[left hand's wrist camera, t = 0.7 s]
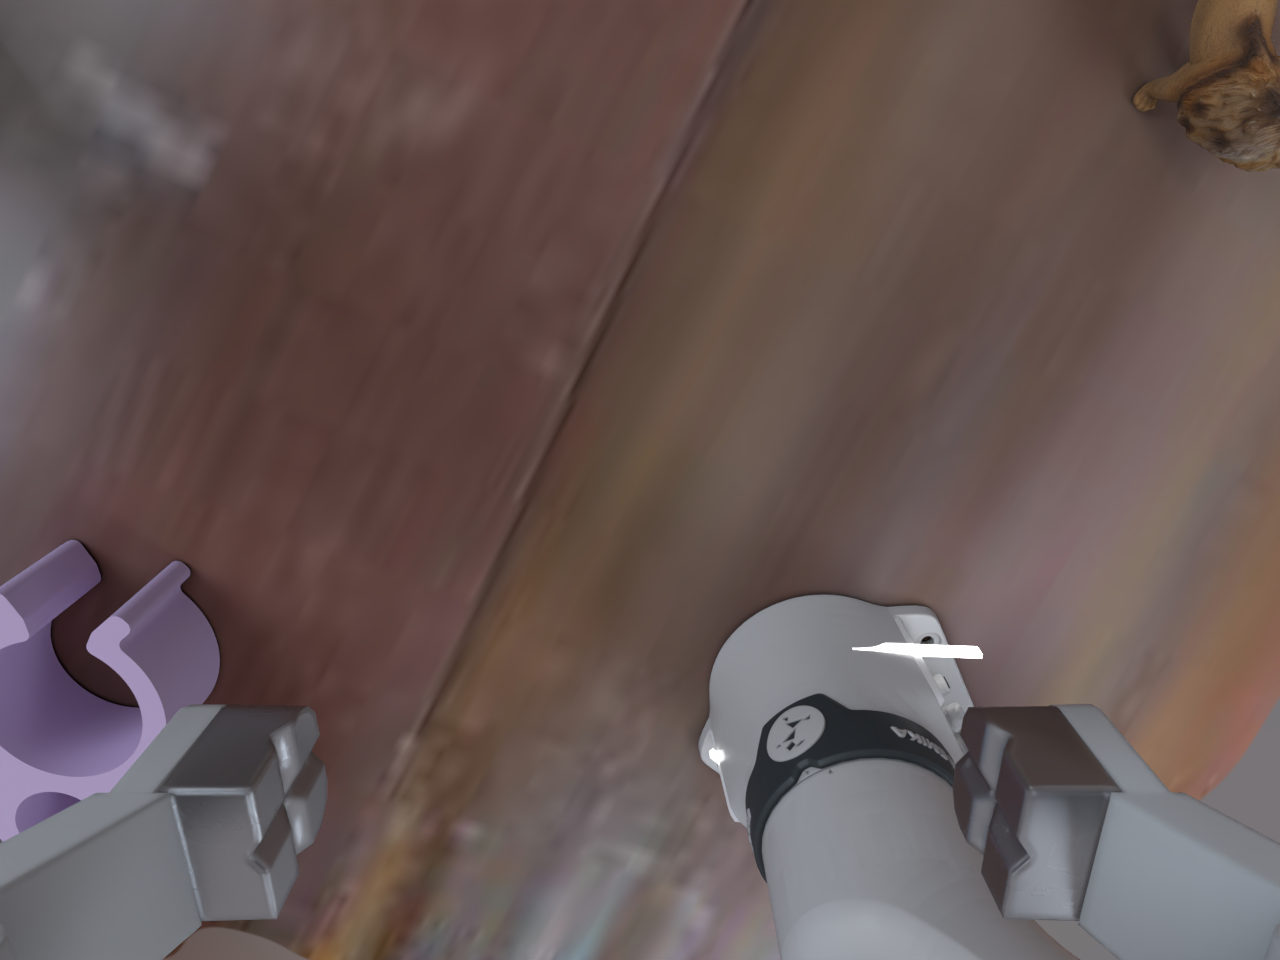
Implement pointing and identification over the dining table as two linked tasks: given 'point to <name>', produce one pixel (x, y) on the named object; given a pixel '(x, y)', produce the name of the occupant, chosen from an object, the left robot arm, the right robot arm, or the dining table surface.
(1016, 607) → the dining table surface
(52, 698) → the clip
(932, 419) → the dining table surface
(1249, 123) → the lion figurine
